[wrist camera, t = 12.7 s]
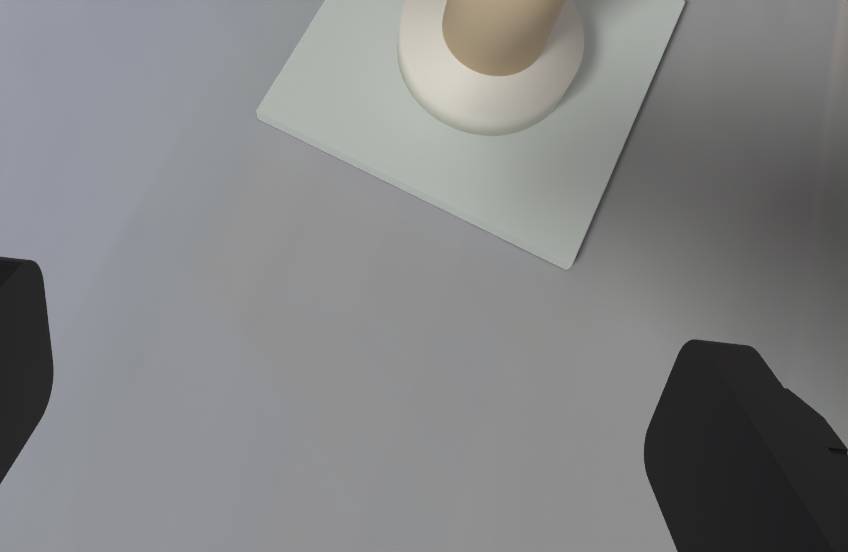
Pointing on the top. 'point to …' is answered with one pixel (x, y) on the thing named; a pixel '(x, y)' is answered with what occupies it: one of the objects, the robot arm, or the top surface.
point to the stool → (489, 60)
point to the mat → (464, 152)
